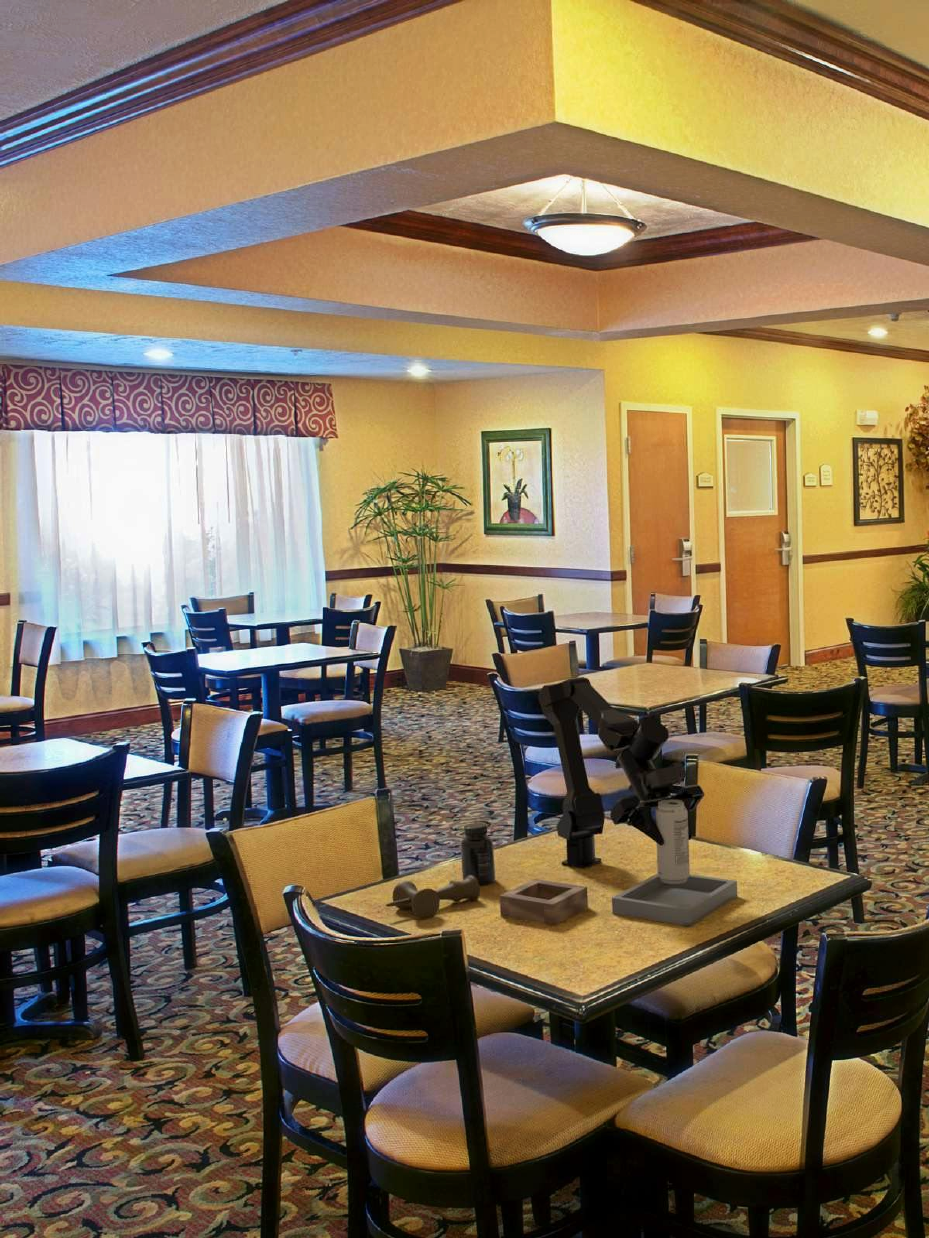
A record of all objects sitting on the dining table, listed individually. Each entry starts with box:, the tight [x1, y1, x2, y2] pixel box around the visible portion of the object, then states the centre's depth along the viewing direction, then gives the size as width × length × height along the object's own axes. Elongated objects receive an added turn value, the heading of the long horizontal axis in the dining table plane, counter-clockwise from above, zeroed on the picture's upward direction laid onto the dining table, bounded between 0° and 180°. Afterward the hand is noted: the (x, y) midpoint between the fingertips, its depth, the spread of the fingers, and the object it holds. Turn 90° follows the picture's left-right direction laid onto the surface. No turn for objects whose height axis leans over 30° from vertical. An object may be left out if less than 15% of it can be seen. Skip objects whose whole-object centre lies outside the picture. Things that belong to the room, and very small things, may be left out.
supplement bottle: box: [459, 822, 496, 887], centre depth 258 cm, size 7×7×12 cm
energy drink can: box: [654, 800, 691, 884], centre depth 236 cm, size 6×6×15 cm
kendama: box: [385, 875, 481, 921], centre depth 242 cm, size 6×10×20 cm
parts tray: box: [611, 872, 738, 928], centre depth 237 cm, size 20×16×3 cm
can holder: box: [499, 878, 589, 927], centre depth 237 cm, size 12×12×4 cm
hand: (676, 841), depth 235 cm, fingers closed on energy drink can, 6 cm apart
